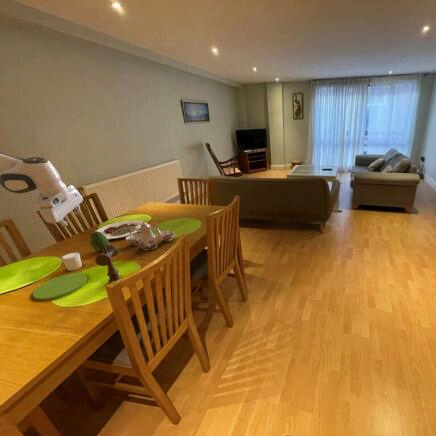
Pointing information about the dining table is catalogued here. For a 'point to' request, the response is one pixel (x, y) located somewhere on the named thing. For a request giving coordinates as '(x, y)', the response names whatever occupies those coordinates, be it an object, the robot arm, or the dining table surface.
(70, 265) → the shot glass
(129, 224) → the plated food
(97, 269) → the dining table surface
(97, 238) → the avocado
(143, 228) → the chinaware
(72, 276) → the placemat
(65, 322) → the dining table surface
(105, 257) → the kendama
